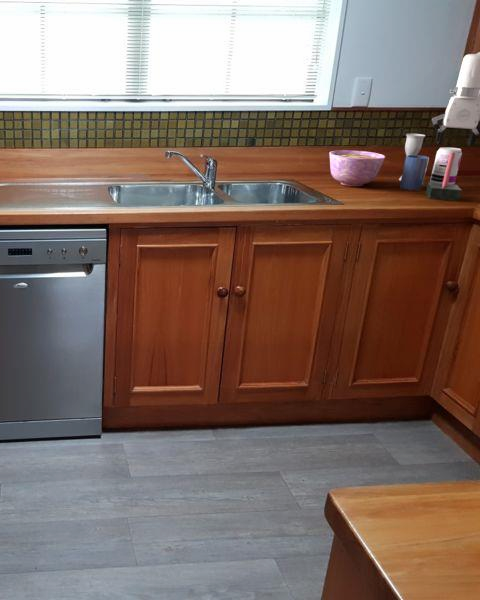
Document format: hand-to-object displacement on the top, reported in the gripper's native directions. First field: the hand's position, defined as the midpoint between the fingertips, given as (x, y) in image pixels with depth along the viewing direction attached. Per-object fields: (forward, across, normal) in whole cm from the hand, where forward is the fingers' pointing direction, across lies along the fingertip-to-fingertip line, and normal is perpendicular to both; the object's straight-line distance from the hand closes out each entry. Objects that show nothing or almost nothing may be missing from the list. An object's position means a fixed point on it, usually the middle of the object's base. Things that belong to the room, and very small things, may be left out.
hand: (454, 144), depth 212 cm
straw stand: (+19, 0, 0) cm, 19 cm away
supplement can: (+19, +2, +17) cm, 26 cm away
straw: (+19, 0, 0) cm, 19 cm away
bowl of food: (+19, -30, +11) cm, 37 cm away
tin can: (+19, -8, +12) cm, 24 cm away
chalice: (+19, -8, +29) cm, 36 cm away
